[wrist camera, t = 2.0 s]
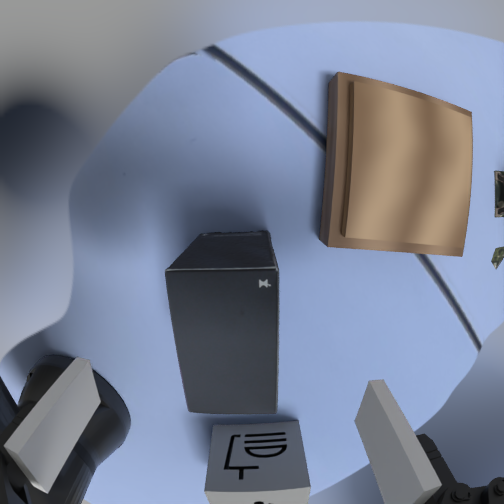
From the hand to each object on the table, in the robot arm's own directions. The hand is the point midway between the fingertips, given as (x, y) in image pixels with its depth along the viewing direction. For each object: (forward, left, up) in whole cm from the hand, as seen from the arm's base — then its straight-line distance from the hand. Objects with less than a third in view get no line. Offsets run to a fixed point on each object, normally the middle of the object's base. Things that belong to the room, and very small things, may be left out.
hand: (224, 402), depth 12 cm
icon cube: (+3, -22, -15) cm, 27 cm away
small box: (0, 0, -15) cm, 15 cm away
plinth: (+14, +12, -15) cm, 23 cm away
